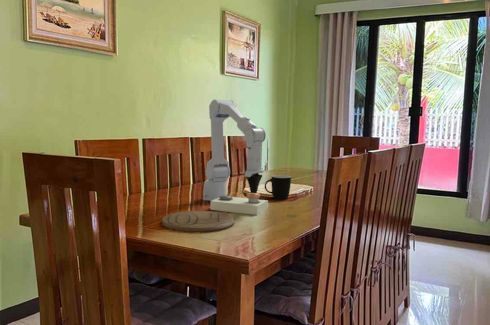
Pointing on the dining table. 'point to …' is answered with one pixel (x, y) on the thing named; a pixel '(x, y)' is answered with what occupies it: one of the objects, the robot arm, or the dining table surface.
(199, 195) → the dining table surface
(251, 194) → the button
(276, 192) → the mug
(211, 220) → the trivet
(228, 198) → the button
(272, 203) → the dining table surface
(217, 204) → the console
